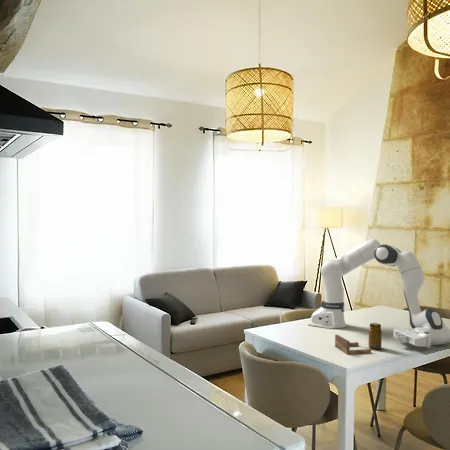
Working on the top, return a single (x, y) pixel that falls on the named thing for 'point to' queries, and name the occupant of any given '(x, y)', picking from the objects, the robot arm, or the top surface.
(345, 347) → the corral
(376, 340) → the condiment
